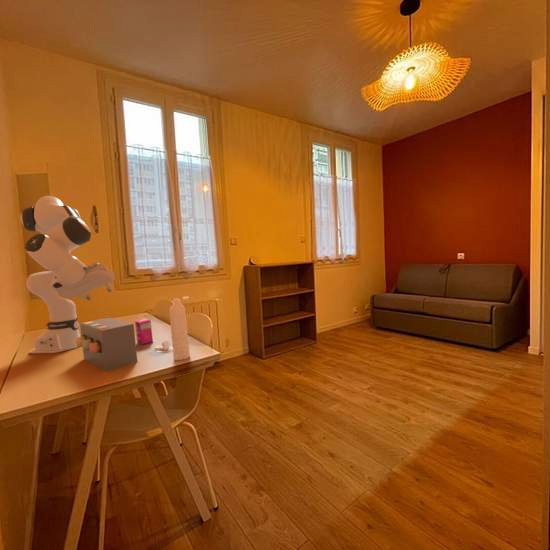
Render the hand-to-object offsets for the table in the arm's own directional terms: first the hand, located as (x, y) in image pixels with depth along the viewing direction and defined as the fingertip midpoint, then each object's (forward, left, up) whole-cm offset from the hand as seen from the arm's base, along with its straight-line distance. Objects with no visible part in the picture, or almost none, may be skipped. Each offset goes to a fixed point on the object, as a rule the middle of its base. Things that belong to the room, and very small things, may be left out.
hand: (101, 294), depth 119 cm
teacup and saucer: (+16, +23, -30) cm, 41 cm away
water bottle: (+28, +7, -30) cm, 41 cm away
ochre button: (-15, +10, -22) cm, 29 cm away
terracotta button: (-4, -1, -22) cm, 23 cm away
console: (-4, +10, -29) cm, 31 cm away
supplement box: (+2, +34, -30) cm, 45 cm away
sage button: (-10, +4, -22) cm, 25 cm away
